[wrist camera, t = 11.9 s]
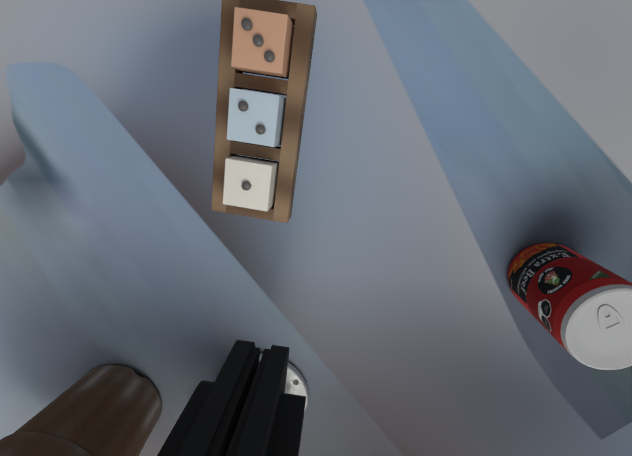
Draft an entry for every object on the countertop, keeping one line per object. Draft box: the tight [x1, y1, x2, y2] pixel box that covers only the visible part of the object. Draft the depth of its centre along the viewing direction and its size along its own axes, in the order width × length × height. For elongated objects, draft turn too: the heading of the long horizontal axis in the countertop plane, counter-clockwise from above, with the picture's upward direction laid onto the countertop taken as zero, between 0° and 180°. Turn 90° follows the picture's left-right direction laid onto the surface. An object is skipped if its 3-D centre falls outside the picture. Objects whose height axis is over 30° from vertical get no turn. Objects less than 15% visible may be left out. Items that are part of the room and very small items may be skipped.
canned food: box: [508, 243, 632, 370], centre depth 32 cm, size 8×8×11 cm
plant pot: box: [0, 364, 162, 456], centre depth 41 cm, size 16×16×16 cm
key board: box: [212, 0, 317, 223], centre depth 34 cm, size 20×8×2 cm, turn 171°
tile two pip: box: [227, 88, 286, 147], centre depth 32 cm, size 5×5×4 cm
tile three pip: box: [231, 7, 294, 79], centre depth 30 cm, size 5×5×4 cm
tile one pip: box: [223, 155, 279, 211], centre depth 34 cm, size 5×5×4 cm
